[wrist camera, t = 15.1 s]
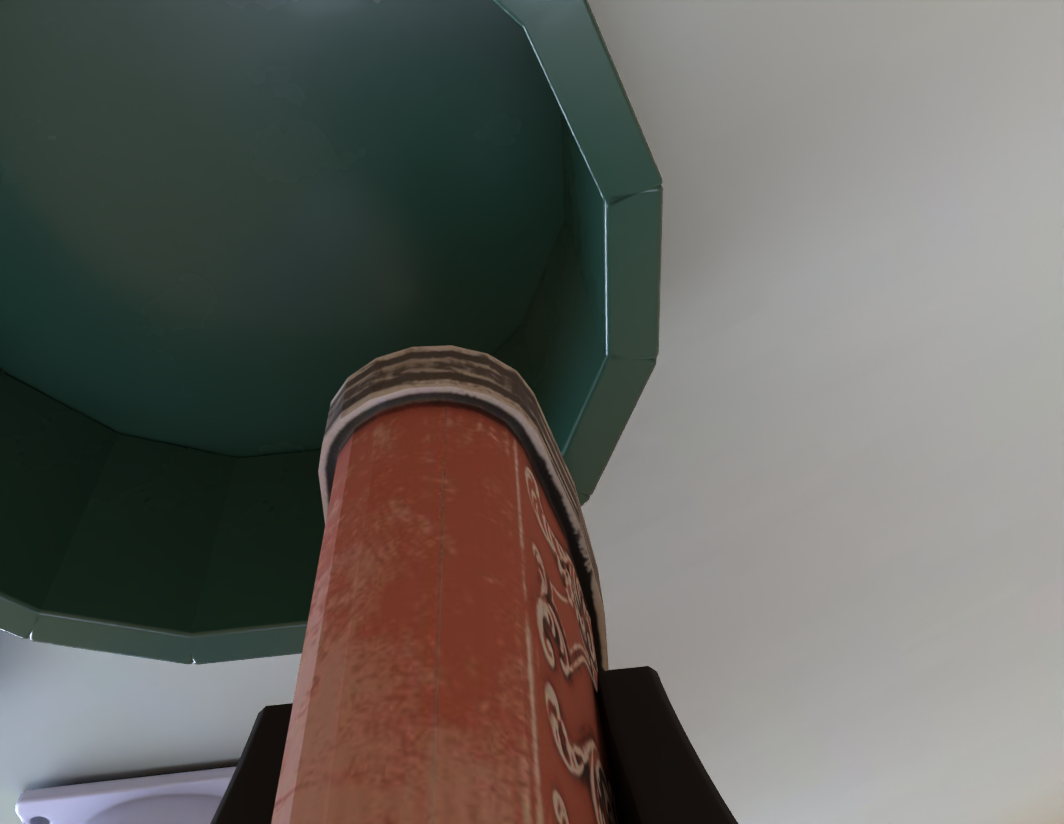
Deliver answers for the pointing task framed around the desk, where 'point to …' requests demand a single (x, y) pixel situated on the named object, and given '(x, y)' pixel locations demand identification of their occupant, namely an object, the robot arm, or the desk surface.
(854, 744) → the desk surface
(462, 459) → the lighter
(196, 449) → the tin
